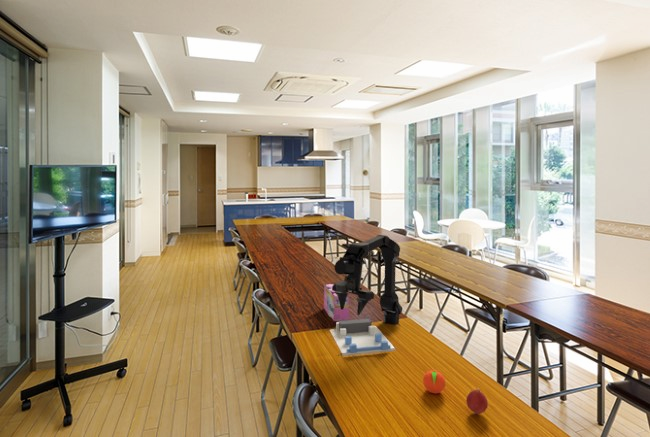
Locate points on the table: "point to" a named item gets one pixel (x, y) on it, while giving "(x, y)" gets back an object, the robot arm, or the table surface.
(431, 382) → the clementine
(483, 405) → the onion
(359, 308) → the robot arm
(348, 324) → the long grey block
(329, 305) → the pink drink multipack
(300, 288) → the table surface
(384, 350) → the board
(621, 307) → the table surface
